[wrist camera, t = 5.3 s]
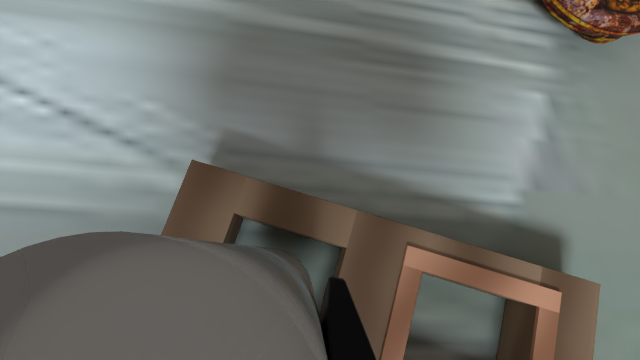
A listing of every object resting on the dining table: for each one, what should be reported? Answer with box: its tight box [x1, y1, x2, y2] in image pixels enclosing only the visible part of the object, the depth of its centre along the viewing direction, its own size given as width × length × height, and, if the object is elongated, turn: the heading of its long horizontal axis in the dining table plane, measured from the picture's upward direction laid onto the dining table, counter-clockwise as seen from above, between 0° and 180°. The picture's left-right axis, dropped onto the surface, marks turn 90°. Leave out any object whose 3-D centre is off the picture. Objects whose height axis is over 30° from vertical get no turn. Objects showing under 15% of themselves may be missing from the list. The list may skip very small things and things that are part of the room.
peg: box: [0, 232, 328, 360], centre depth 9 cm, size 4×4×13 cm
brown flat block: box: [161, 160, 600, 360], centre depth 17 cm, size 22×10×3 cm, turn 73°
